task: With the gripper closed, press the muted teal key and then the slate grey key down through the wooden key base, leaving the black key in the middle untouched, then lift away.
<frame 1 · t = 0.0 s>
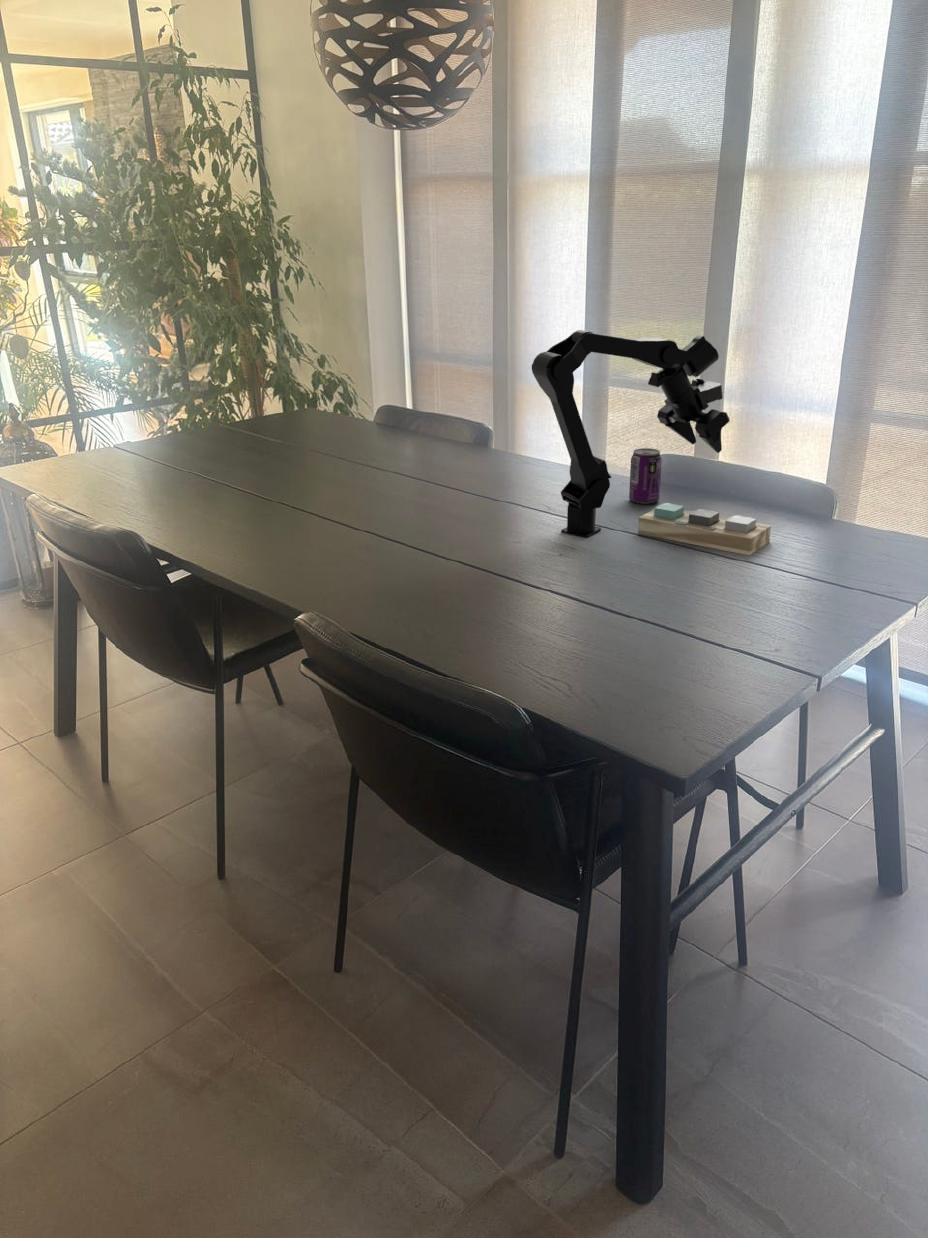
hand: (706, 447, 206), 15 cm above the table, tool tilted 35°, fingers open, 9 cm apart
wooden key base: (702, 537, 196), on the table
key grey: (740, 526, 189), point 4 cm above the table, slide at 0.0 cm
key black: (703, 520, 194), point 4 cm above the table, slide at 0.0 cm
key teal: (668, 513, 199), point 4 cm above the table, slide at 0.0 cm
beverage can: (644, 501, 221), on the table
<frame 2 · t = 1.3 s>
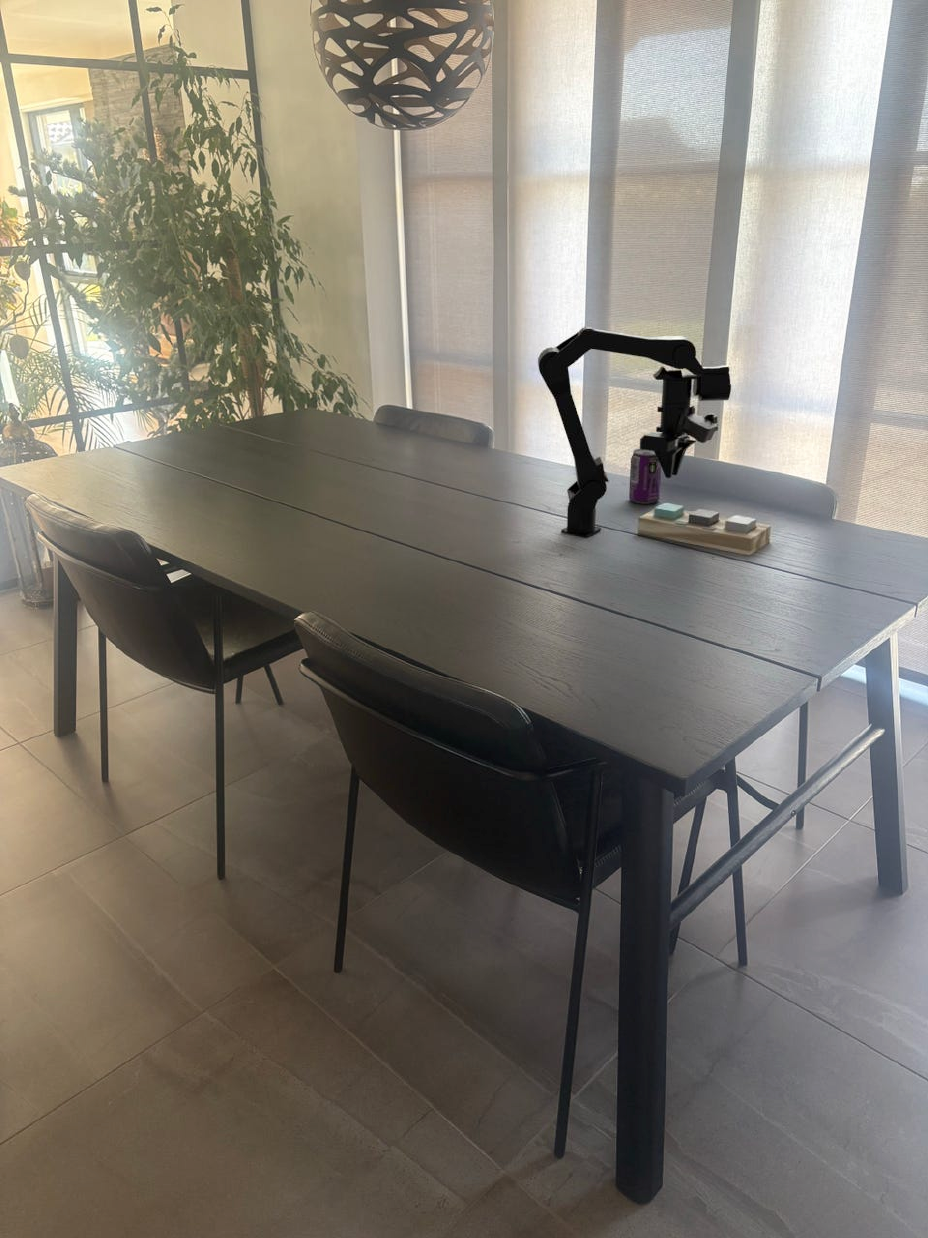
hand: (671, 476, 195), 12 cm above the table, tool pointing down, fingers closed
nothing on the table moved.
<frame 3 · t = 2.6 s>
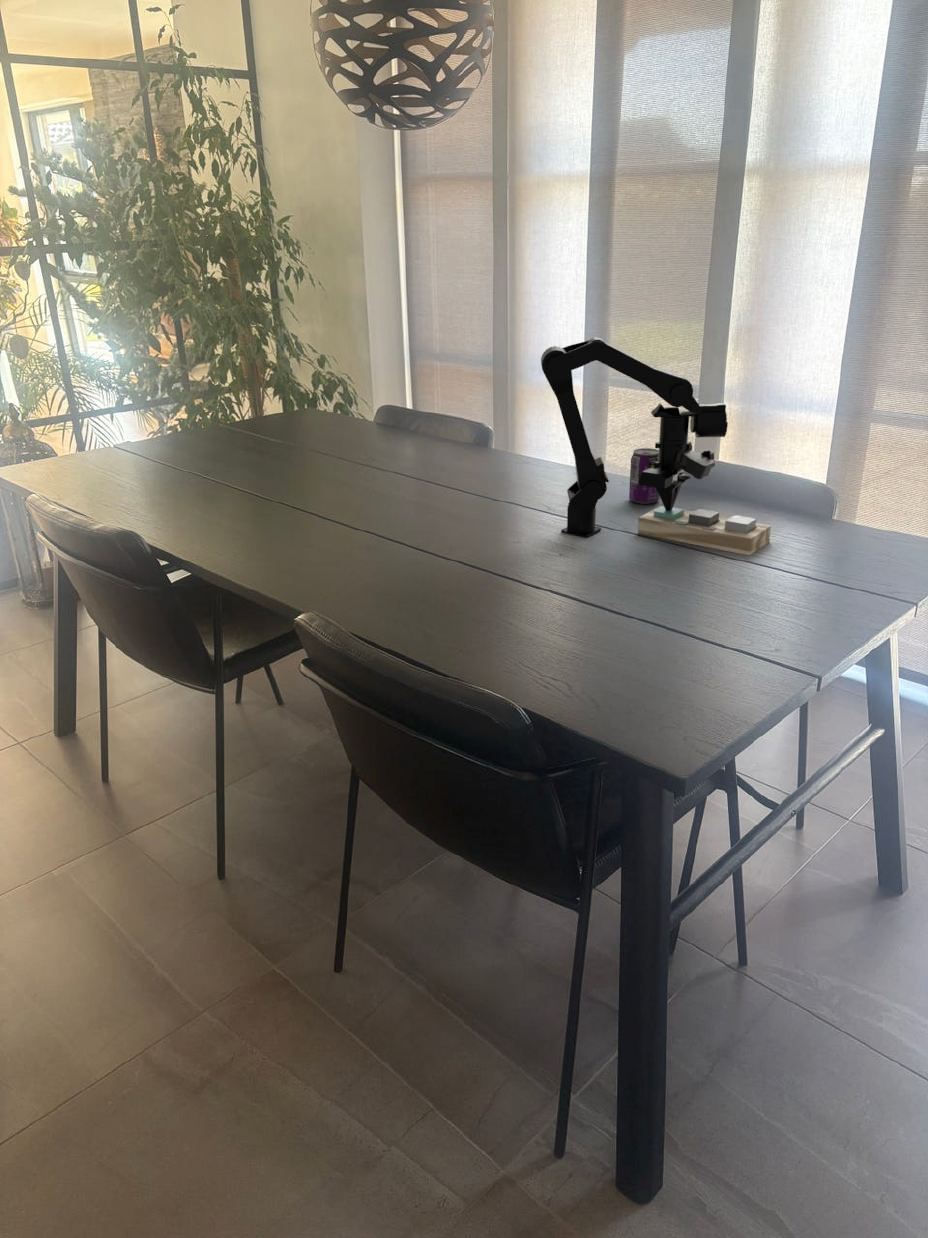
hand: (668, 510, 198), 5 cm above the table, tool pointing down, fingers closed, pressing on key teal
key teal: (668, 517, 199), point 3 cm above the table, slide at 0.8 cm, touching gripper
everything else where it was.
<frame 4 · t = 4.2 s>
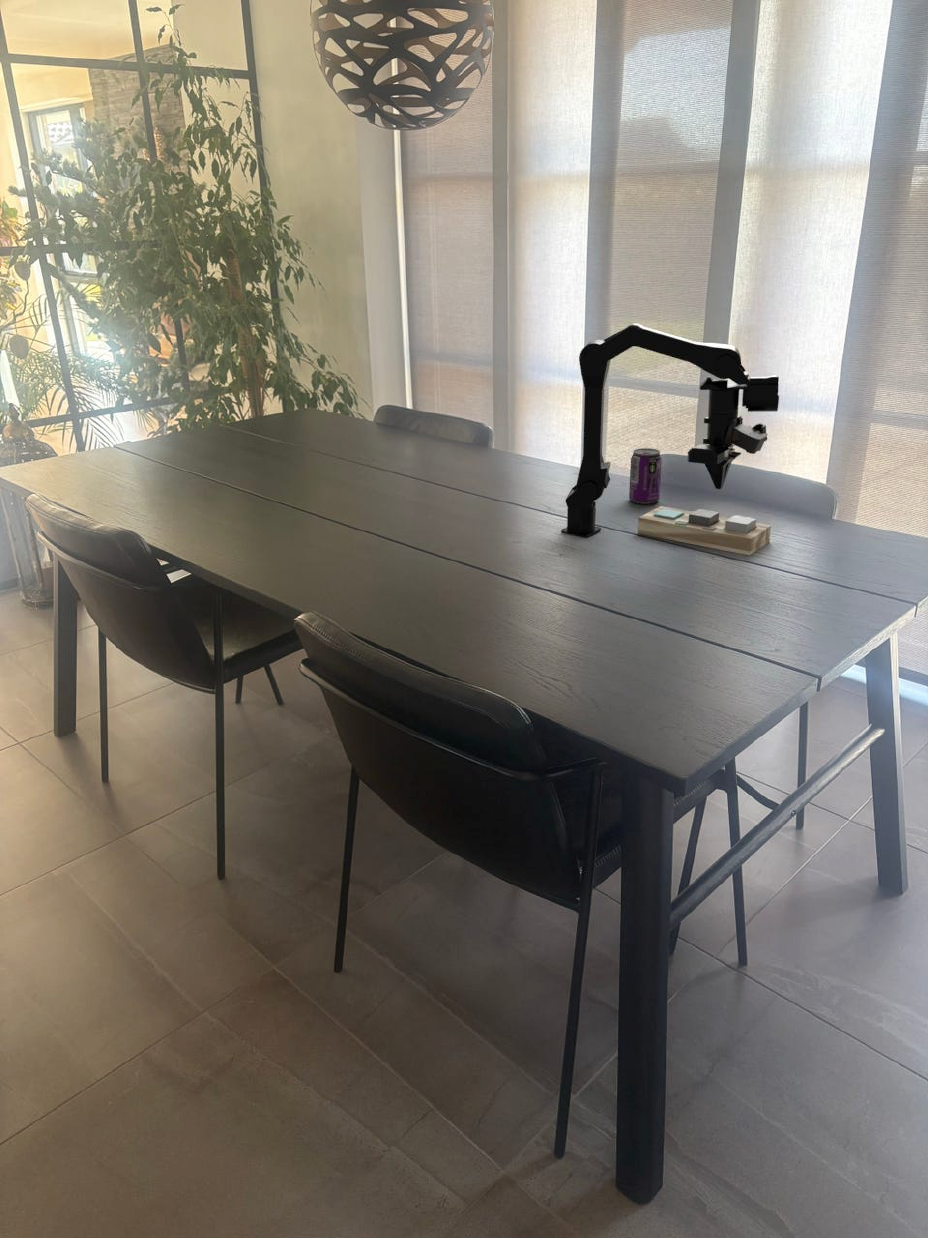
hand: (719, 488, 190), 11 cm above the table, tool pointing down, fingers closed
key teal: (668, 519, 199), point 2 cm above the table, slide at 1.3 cm
everything else where it was.
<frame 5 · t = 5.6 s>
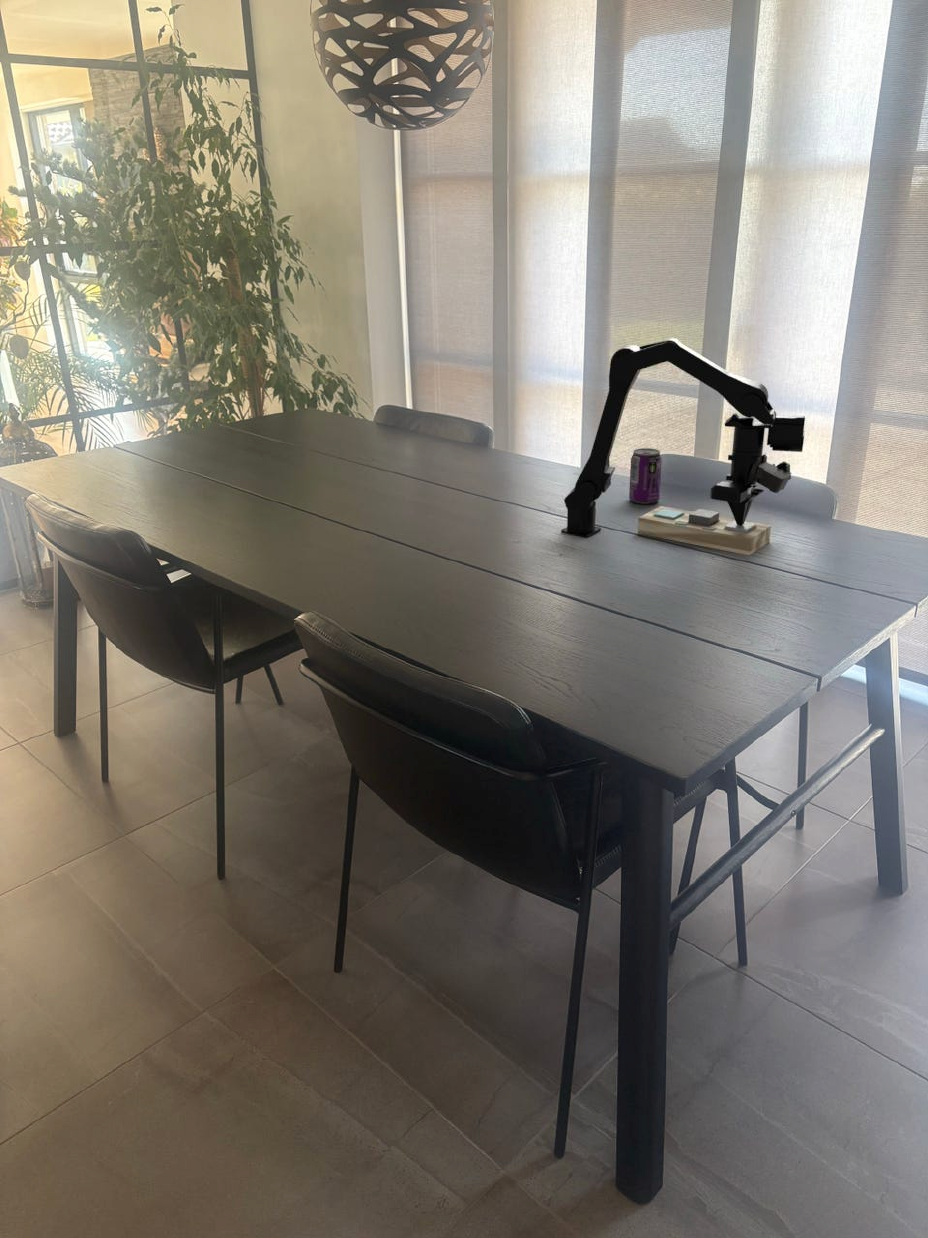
hand: (740, 524, 189), 4 cm above the table, tool pointing down, fingers closed, pressing on key grey
key grey: (739, 532, 190), point 3 cm above the table, slide at 1.1 cm, touching gripper
everything else where it was.
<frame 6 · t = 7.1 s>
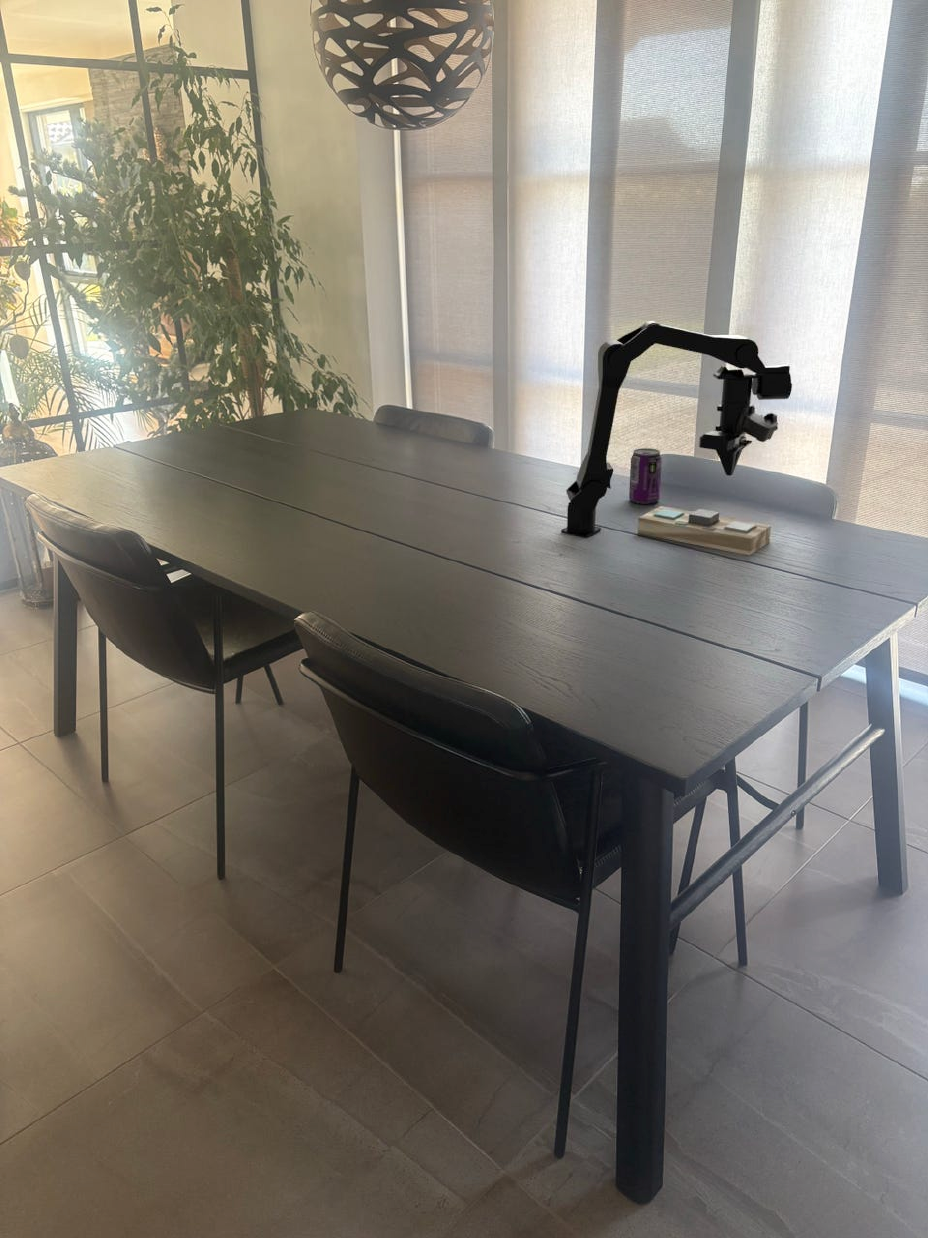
hand: (729, 475, 196), 12 cm above the table, tool pointing down, fingers closed
key grey: (739, 532, 190), point 3 cm above the table, slide at 1.3 cm
everything else where it was.
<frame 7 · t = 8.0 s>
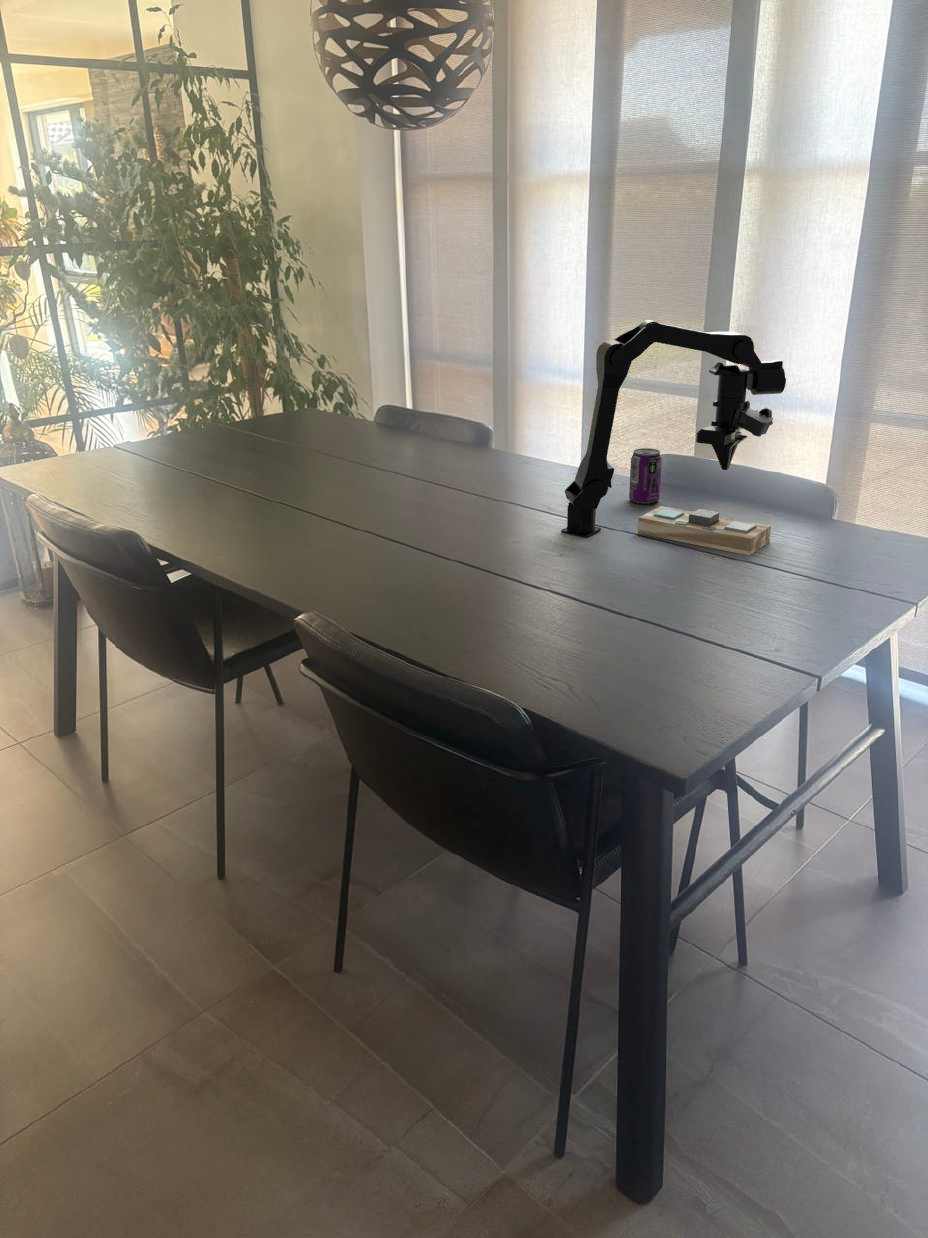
hand: (725, 469, 199), 12 cm above the table, tool pointing down, fingers closed
nothing on the table moved.
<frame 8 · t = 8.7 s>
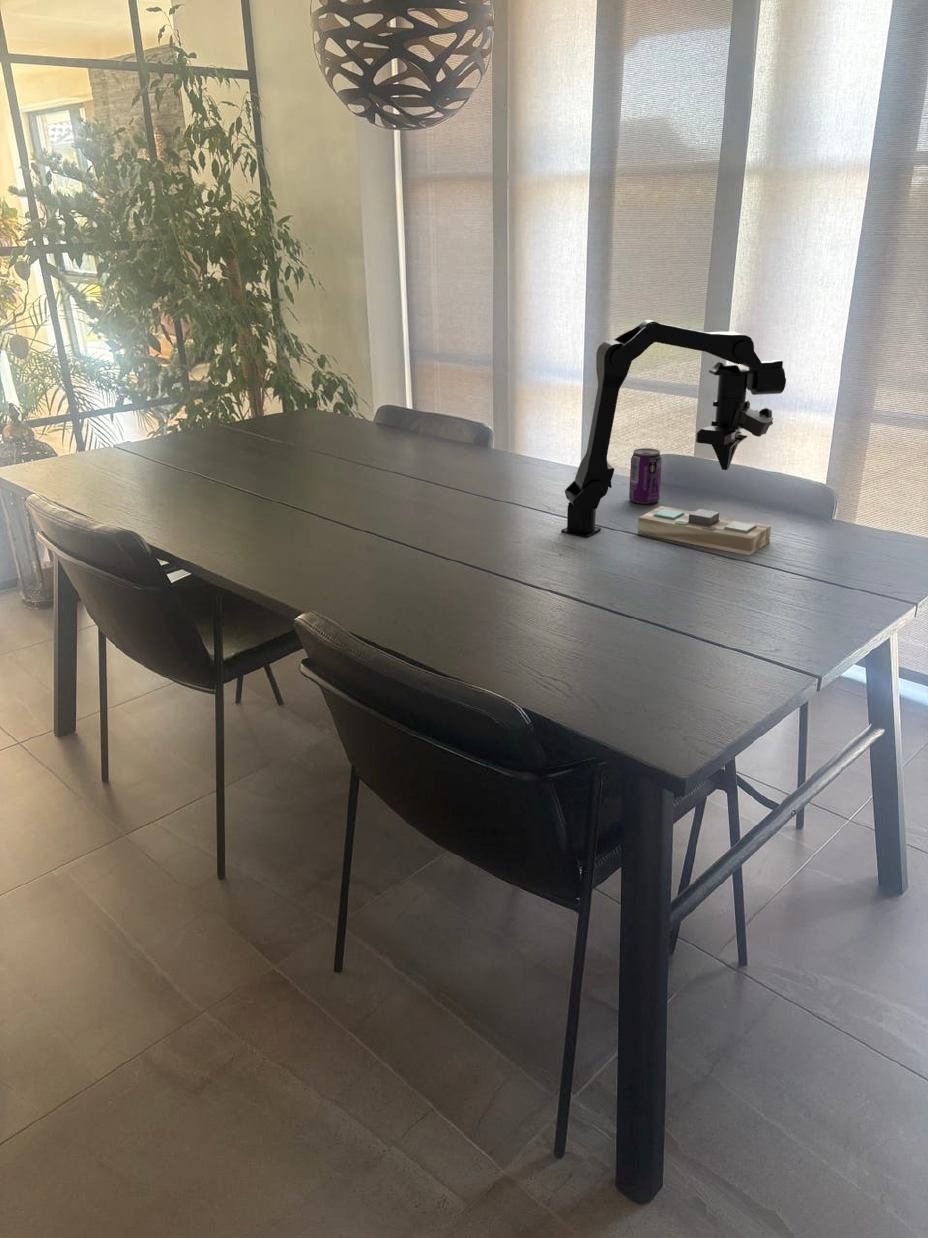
hand: (725, 469, 199), 12 cm above the table, tool pointing down, fingers closed
nothing on the table moved.
at the end: key teal slide at 1.3 cm; key grey slide at 1.3 cm; key black slide at 0.0 cm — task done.
